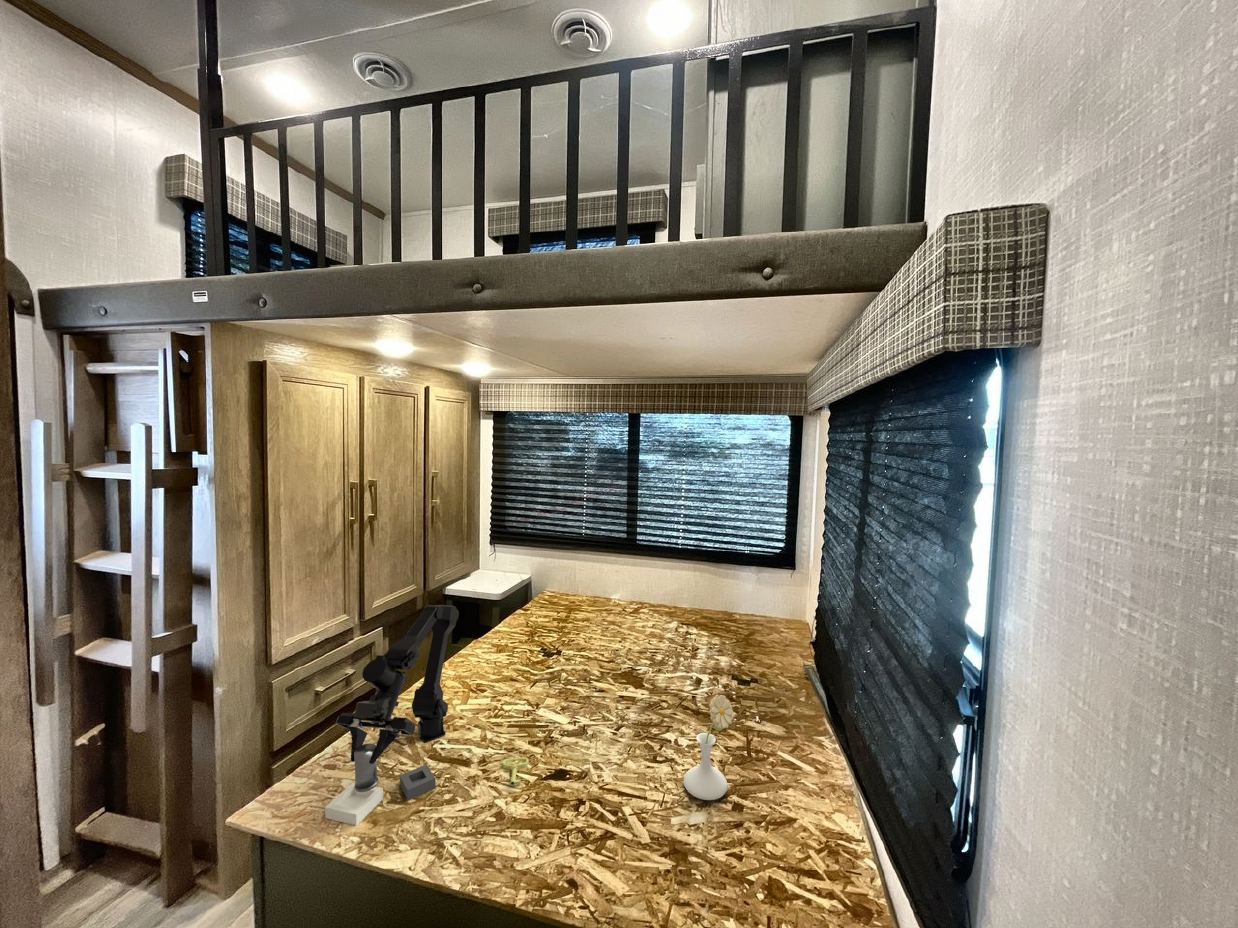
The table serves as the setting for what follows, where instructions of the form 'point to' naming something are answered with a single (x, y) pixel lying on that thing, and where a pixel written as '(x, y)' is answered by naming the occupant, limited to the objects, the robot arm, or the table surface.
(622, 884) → the table surface
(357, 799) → the tray
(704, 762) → the flower in vase
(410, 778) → the block
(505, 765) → the key
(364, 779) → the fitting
